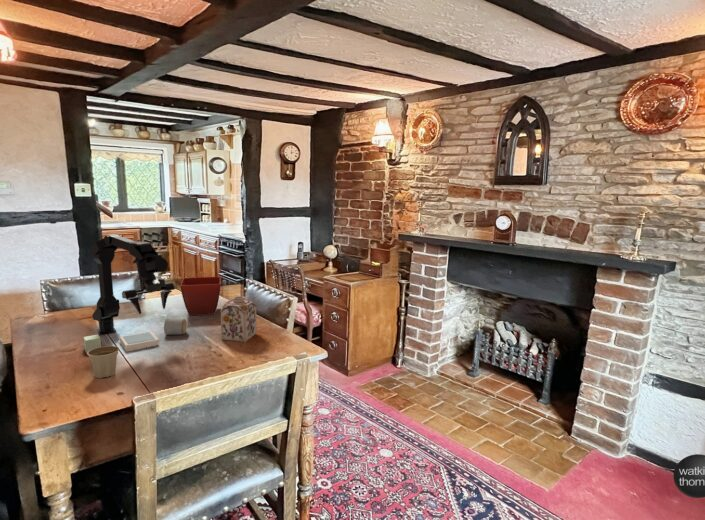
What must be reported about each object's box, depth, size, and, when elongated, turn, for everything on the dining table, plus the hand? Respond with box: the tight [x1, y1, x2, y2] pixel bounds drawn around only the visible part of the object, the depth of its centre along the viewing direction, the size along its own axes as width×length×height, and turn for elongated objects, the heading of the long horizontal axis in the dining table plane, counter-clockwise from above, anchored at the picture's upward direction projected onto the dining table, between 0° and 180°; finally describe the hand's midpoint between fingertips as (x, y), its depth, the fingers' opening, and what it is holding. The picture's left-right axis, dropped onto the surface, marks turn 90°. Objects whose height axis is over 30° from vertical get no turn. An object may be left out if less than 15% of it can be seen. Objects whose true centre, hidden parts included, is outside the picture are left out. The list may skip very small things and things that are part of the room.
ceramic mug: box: [163, 316, 188, 336], centre depth 185 cm, size 11×8×8 cm
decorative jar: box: [220, 295, 258, 343], centre depth 181 cm, size 12×12×18 cm
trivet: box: [119, 330, 160, 352], centre depth 171 cm, size 12×12×3 cm
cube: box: [83, 334, 102, 354], centre depth 163 cm, size 5×5×5 cm
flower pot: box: [86, 345, 120, 379], centre depth 142 cm, size 9×9×9 cm
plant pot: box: [179, 276, 222, 316], centre depth 216 cm, size 19×19×17 cm
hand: (152, 311), depth 168 cm, fingers open, 9 cm apart
